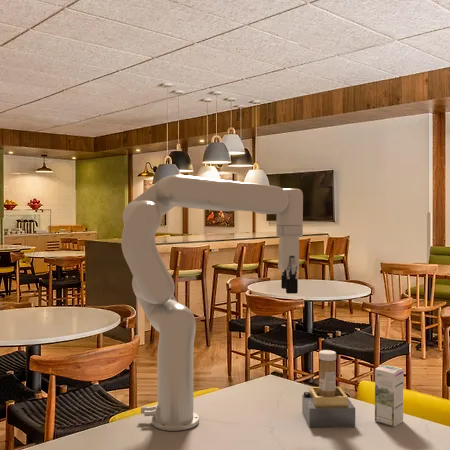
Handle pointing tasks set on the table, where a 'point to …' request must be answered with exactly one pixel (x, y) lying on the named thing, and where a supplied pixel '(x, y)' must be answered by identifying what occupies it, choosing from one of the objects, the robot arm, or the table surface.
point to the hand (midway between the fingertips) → (289, 290)
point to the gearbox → (327, 409)
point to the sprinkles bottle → (327, 373)
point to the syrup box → (389, 395)
